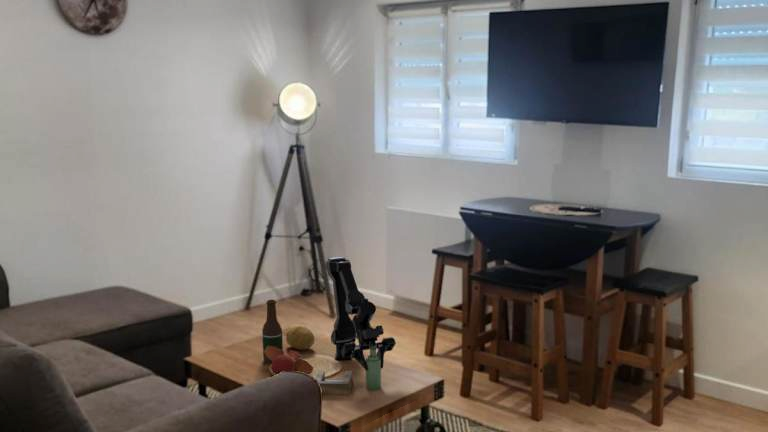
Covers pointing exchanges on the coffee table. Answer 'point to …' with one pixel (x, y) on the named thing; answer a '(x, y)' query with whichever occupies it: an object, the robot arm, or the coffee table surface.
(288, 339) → the potato
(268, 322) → the beer bottle
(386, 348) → the robot arm
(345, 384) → the square wooden tray
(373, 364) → the bottle
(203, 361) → the coffee table surface
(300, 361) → the brown red lumpy cluster
